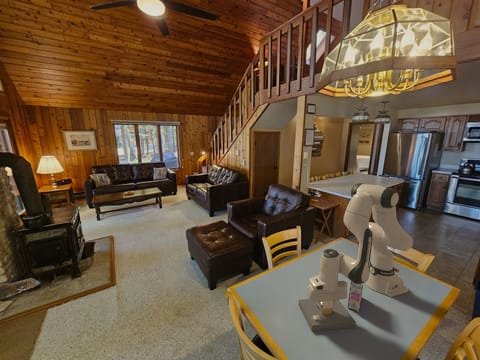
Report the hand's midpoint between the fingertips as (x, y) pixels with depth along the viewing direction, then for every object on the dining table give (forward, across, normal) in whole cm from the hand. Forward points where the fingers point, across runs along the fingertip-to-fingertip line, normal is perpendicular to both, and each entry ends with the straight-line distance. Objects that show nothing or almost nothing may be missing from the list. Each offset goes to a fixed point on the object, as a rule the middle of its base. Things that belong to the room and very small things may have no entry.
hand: (325, 306), depth 103 cm
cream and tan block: (+4, 0, 0) cm, 4 cm away
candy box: (+6, -21, -7) cm, 23 cm away
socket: (+5, 0, 0) cm, 5 cm away
